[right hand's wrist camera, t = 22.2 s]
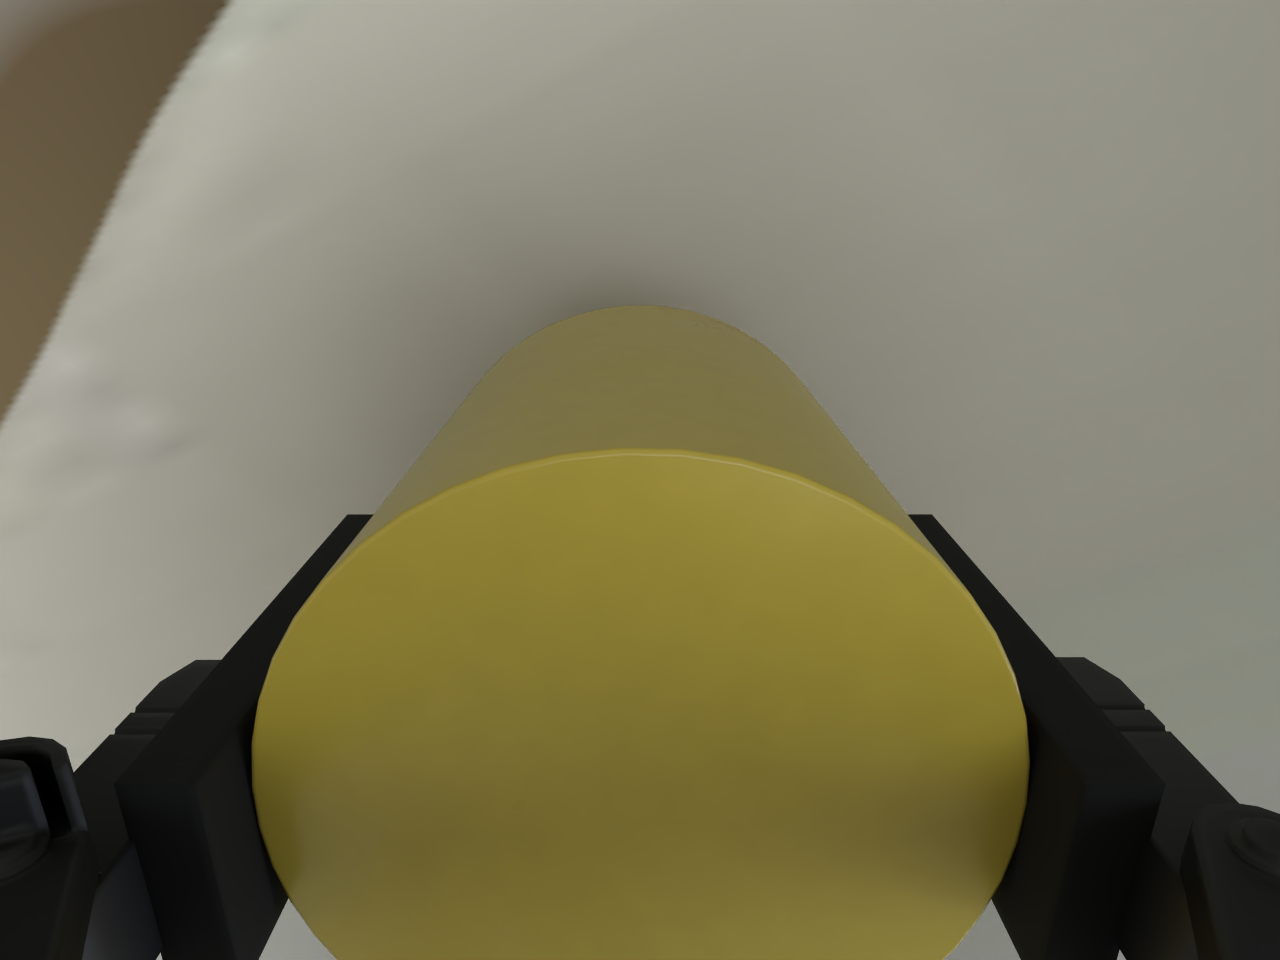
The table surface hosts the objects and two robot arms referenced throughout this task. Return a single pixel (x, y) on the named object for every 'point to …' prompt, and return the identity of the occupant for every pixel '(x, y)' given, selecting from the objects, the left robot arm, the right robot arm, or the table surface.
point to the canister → (640, 682)
